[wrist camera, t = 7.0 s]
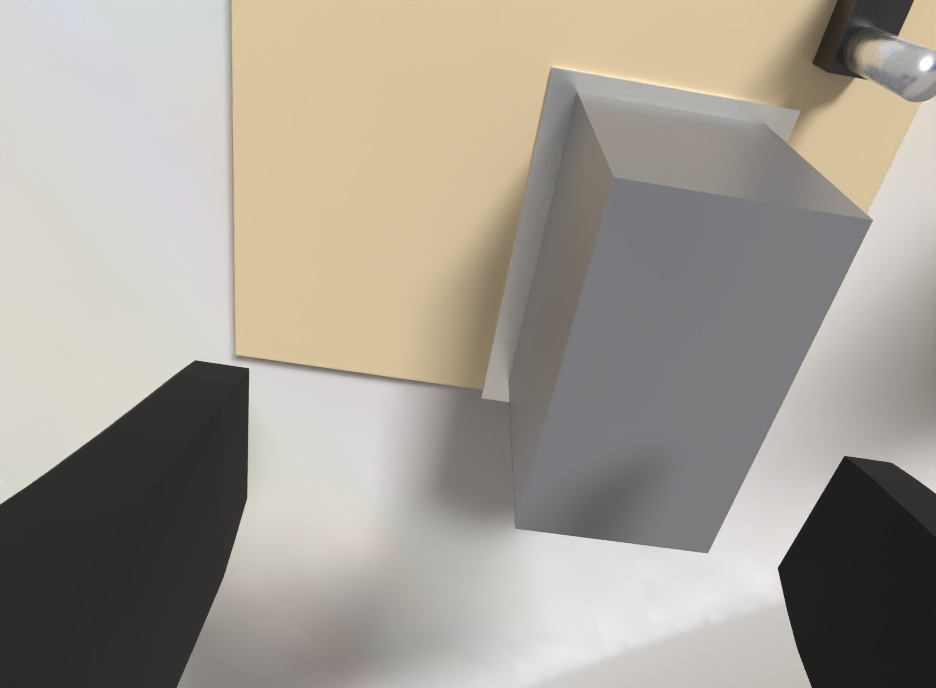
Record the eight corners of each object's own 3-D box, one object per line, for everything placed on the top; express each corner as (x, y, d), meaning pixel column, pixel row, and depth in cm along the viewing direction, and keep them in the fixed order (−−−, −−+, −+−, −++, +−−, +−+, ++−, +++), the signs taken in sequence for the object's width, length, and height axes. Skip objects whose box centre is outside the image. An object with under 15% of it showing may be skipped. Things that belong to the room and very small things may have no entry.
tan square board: (754, 415, 20) (761, 429, 20) (242, 342, 19) (235, 354, 19) (990, -80, 14) (1009, -78, 13) (239, -230, 13) (229, -234, 12)
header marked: (672, 423, 20) (703, 513, 17) (481, 396, 19) (480, 484, 16) (798, 109, 15) (869, 162, 12) (552, 66, 15) (568, 111, 12)
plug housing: (658, 403, 19) (707, 553, 15) (508, 382, 19) (515, 528, 15) (765, 123, 15) (872, 220, 11) (577, 91, 15) (613, 177, 11)
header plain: (859, 72, 15) (937, 113, 12) (811, 63, 15) (880, 103, 12) (928, -88, 13) (1033, -79, 11) (875, -98, 13) (969, -92, 11)
